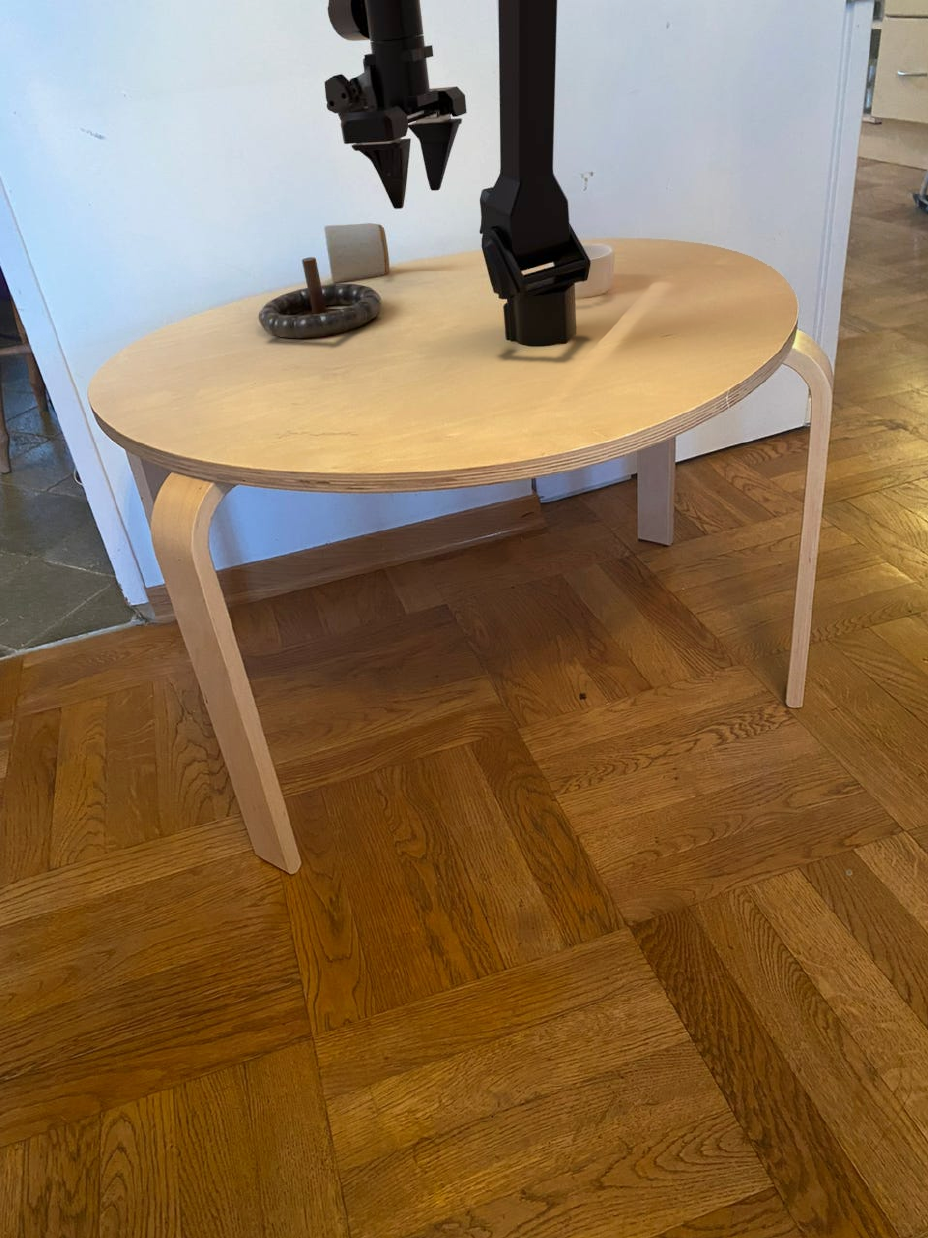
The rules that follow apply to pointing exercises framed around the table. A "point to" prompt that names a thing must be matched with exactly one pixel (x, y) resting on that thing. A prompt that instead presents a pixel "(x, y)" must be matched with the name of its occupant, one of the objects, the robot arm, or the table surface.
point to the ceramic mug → (356, 251)
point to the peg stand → (314, 288)
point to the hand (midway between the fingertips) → (417, 198)
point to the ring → (317, 325)
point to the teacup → (596, 270)
